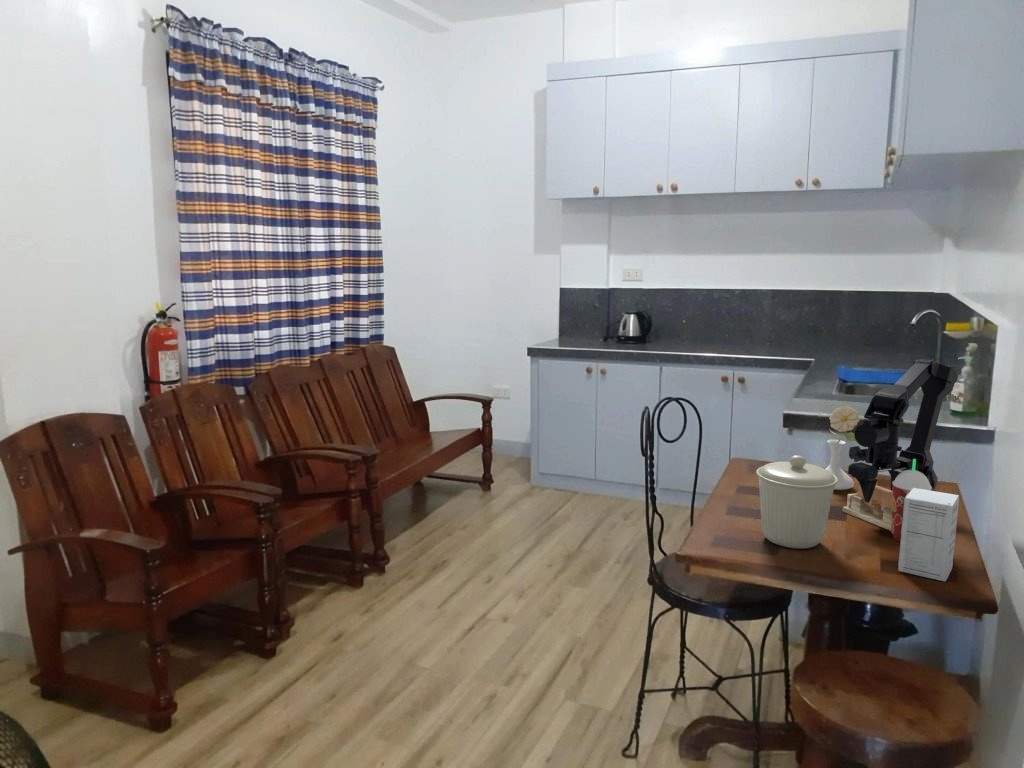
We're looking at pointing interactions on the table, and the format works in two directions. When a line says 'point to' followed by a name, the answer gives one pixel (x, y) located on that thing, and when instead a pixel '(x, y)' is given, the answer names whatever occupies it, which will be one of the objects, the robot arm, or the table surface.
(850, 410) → the flower in vase
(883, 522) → the display stand
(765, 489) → the canister
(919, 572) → the supplement box
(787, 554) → the table surface
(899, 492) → the smoothie
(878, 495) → the tapered tan board
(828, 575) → the table surface
